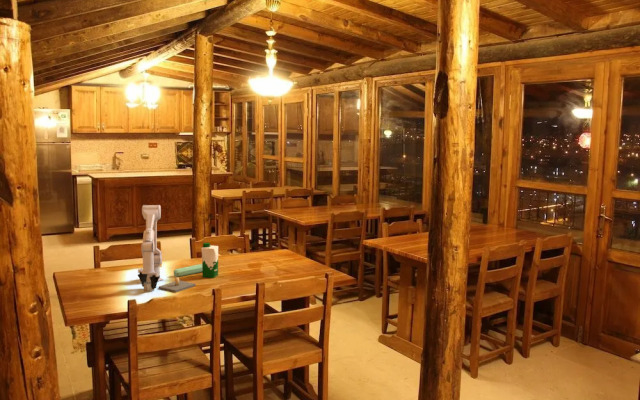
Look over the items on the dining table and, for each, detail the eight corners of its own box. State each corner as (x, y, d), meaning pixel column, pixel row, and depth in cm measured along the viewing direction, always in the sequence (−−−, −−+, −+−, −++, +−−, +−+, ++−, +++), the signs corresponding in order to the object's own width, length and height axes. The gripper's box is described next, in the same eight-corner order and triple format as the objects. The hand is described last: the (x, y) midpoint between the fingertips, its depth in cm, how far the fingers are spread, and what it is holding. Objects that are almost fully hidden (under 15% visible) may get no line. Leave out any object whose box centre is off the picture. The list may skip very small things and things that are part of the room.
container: (175, 267, 328) (212, 260, 345) (171, 269, 332) (207, 262, 349) (177, 277, 327) (214, 269, 344) (173, 279, 331) (209, 271, 348)
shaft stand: (158, 288, 307) (158, 279, 306) (178, 282, 319) (178, 273, 319) (175, 292, 300) (175, 283, 299) (195, 285, 313) (195, 276, 312)
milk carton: (206, 273, 338) (205, 241, 335) (220, 274, 336) (219, 242, 333) (200, 277, 329) (199, 244, 326) (214, 278, 327) (214, 245, 325)
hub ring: (141, 290, 303) (141, 283, 303) (149, 287, 308) (149, 280, 307) (148, 291, 300) (148, 284, 300) (156, 289, 305) (156, 282, 304)
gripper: (133, 262, 302) (134, 287, 304) (152, 266, 295) (152, 291, 297) (143, 260, 308) (144, 283, 310) (162, 263, 301) (162, 288, 303)
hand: (149, 287), depth 304 cm, fingers open, 7 cm apart
